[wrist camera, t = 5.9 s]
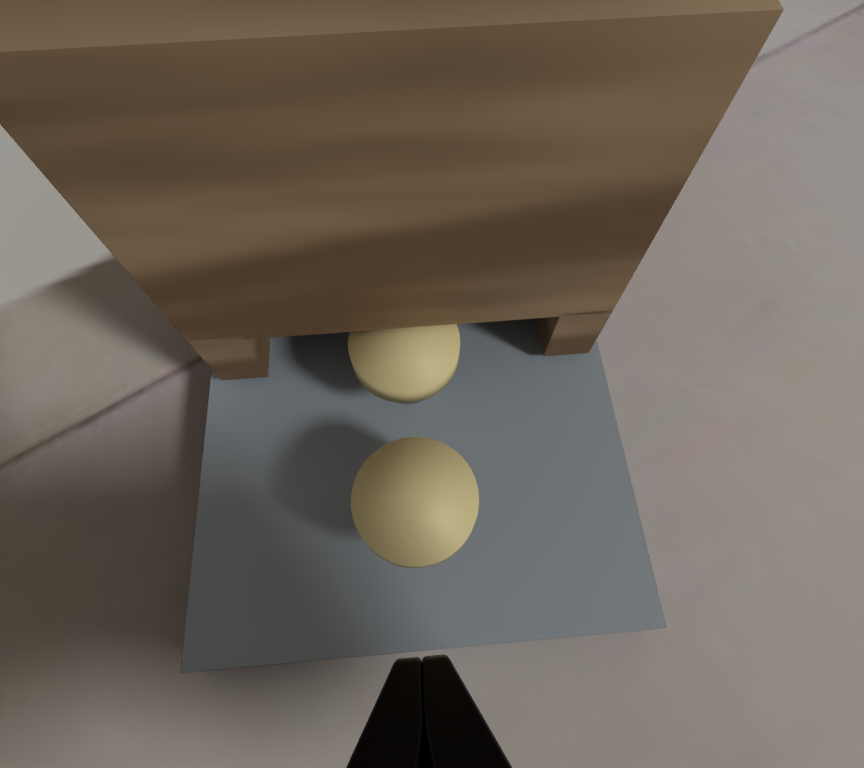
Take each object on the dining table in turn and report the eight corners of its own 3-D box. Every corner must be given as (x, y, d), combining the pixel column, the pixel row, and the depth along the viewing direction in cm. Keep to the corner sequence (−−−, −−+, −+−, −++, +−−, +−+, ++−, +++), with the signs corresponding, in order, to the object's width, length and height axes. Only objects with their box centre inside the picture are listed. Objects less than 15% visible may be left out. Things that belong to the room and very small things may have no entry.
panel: (588, 352, 17) (783, 9, 8) (221, 380, 17) (-60, 55, 7) (571, 278, 19) (720, -99, 9) (228, 302, 18) (-3, -64, 9)
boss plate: (646, 627, 16) (776, 628, 10) (202, 668, 15) (56, 695, 9) (564, 270, 21) (615, 131, 15) (235, 293, 21) (156, 159, 15)
